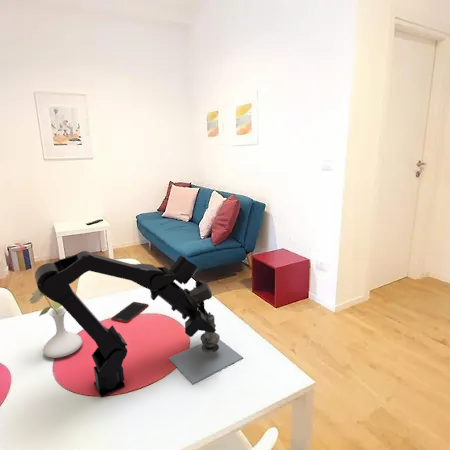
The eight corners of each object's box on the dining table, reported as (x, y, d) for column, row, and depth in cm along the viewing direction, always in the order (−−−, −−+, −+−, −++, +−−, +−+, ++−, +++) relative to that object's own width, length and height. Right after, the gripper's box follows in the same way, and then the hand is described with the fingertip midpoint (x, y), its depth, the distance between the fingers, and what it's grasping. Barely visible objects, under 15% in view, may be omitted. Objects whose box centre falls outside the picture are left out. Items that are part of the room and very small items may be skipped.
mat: (192, 384, 90) (192, 383, 90) (168, 359, 100) (168, 358, 100) (243, 358, 100) (243, 357, 100) (216, 337, 111) (216, 336, 111)
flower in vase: (68, 336, 113) (58, 268, 107) (90, 346, 108) (81, 274, 102) (31, 357, 103) (17, 282, 96) (52, 369, 97) (39, 291, 91)
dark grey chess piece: (217, 354, 97) (216, 318, 94) (198, 352, 98) (197, 316, 96) (221, 343, 103) (221, 308, 100) (203, 340, 104) (202, 306, 101)
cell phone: (149, 306, 134) (149, 304, 134) (127, 324, 121) (127, 322, 121) (133, 303, 137) (133, 301, 137) (110, 321, 123) (109, 318, 123)
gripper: (196, 290, 86) (238, 325, 90) (193, 265, 104) (228, 295, 108) (167, 320, 86) (209, 353, 90) (169, 290, 104) (205, 319, 108)
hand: (214, 327), depth 99 cm, fingers closed on dark grey chess piece, 4 cm apart
